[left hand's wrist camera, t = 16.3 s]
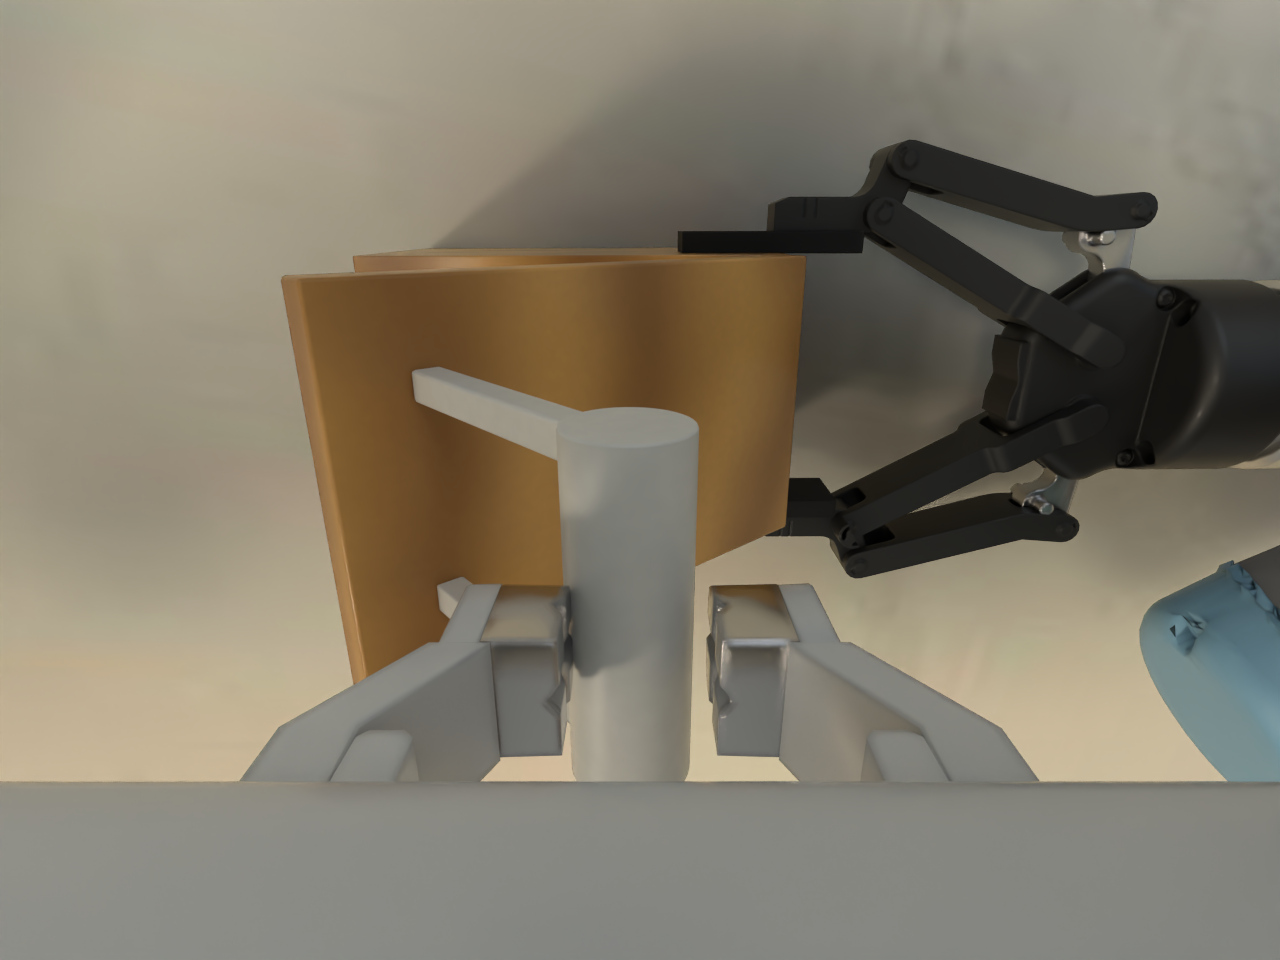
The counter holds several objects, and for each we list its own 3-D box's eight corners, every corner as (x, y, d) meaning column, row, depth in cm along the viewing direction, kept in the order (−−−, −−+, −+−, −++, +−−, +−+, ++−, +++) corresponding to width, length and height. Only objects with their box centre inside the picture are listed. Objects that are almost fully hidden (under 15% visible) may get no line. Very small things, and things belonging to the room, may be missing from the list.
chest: (449, 446, 35) (389, 519, 26) (428, 248, 31) (352, 255, 23) (735, 444, 35) (771, 515, 26) (745, 247, 32) (789, 254, 23)
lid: (353, 687, 17) (562, 964, 10) (278, 275, 13) (522, 315, 7) (762, 517, 26) (998, 607, 20) (779, 254, 23) (1069, 263, 17)
